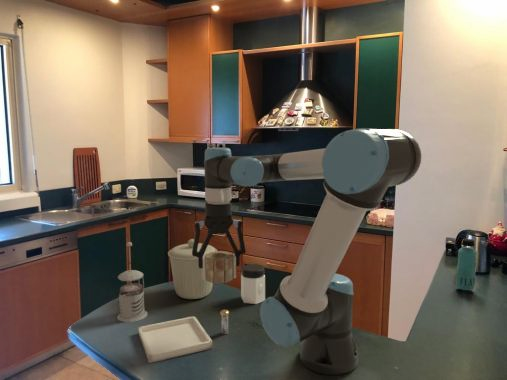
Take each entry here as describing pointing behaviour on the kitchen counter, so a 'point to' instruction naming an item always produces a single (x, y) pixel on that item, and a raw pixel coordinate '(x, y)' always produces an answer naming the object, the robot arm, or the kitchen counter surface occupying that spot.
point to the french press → (131, 296)
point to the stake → (224, 321)
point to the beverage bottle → (466, 266)
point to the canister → (189, 271)
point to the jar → (253, 284)
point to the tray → (174, 339)
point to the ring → (219, 266)
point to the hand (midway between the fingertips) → (219, 277)
